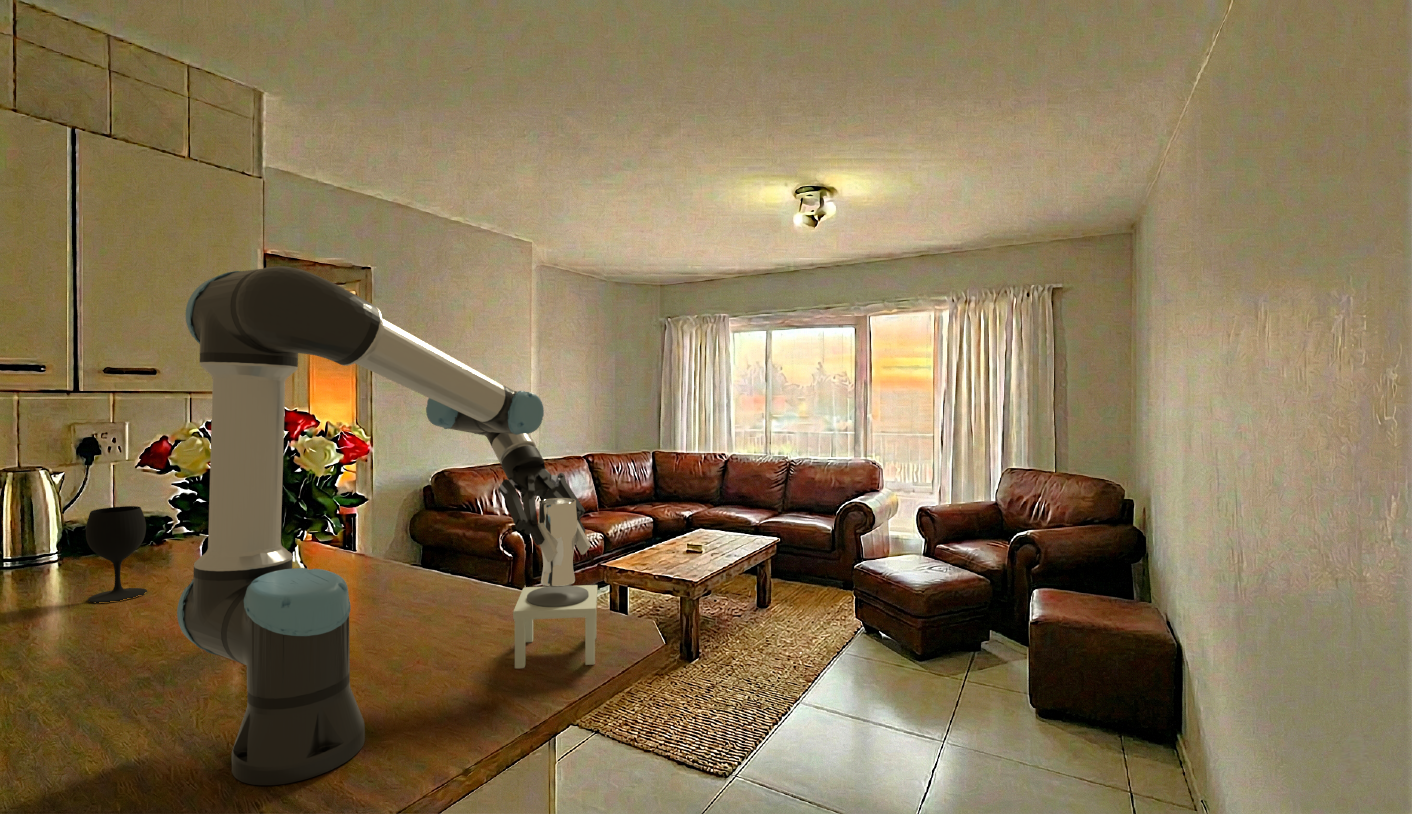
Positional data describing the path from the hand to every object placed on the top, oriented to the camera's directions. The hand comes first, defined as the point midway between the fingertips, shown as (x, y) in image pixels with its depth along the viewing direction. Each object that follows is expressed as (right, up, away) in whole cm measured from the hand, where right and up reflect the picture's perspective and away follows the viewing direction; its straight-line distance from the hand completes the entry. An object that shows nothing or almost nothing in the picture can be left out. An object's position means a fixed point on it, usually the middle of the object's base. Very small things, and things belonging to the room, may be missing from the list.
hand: (569, 553), depth 122 cm
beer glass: (-3, -6, +3) cm, 7 cm away
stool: (-3, -19, +3) cm, 19 cm away
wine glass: (-110, -17, +33) cm, 116 cm away
